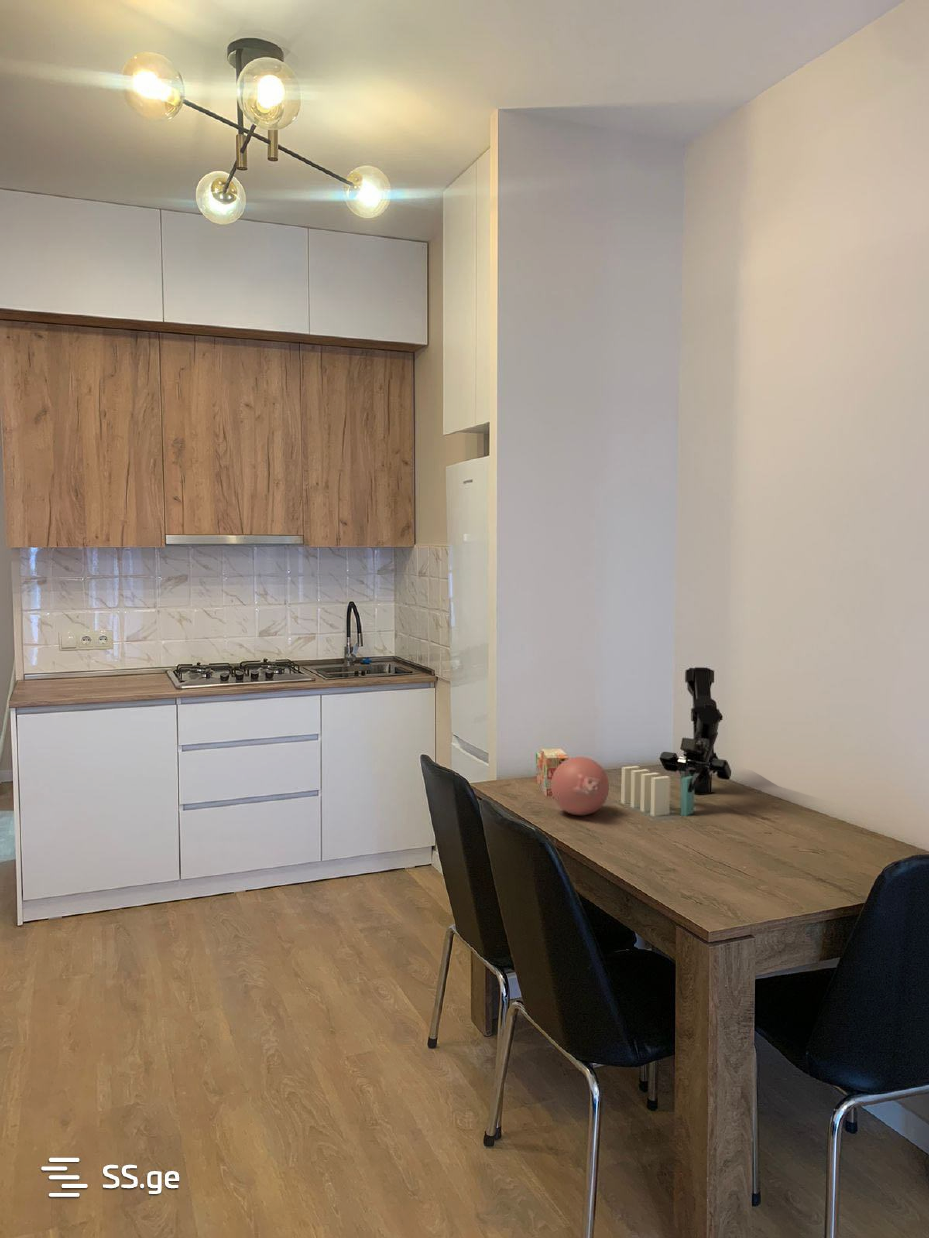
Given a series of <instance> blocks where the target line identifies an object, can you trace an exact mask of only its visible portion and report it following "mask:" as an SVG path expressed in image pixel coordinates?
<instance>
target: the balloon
mask: <svg viewBox="0 0 929 1238" xmlns="http://www.w3.org/2000/svg"><path fill="white" fill-rule="evenodd" d="M551 791H552V795H553V797H554V798H553V799H554V801H555V803H556V805H557V806H558V807H560V809H562V810H563V811H564V812H566V813H568V814H571V815H573V816H587V815H591V814H593V813H595V812H596V811H598V810H599V809H600V808H602V806H603V805H604V804H605V802H606V800H607V796H609V791H610V782H609V777H608V775H607V772H606V771H605V769H604V768H603V767H602V766H601V764H599V763H598V762H597V761H595V760H593V759H592V758H588V757H584V756H573V757H571V758H570V757H569V759H568V760H566V761H564V762H563V763H561V764H560V765H559V766H558V767H557V769H556V770H555V772H554V774H553V776H552V781H551Z"/></svg>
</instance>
